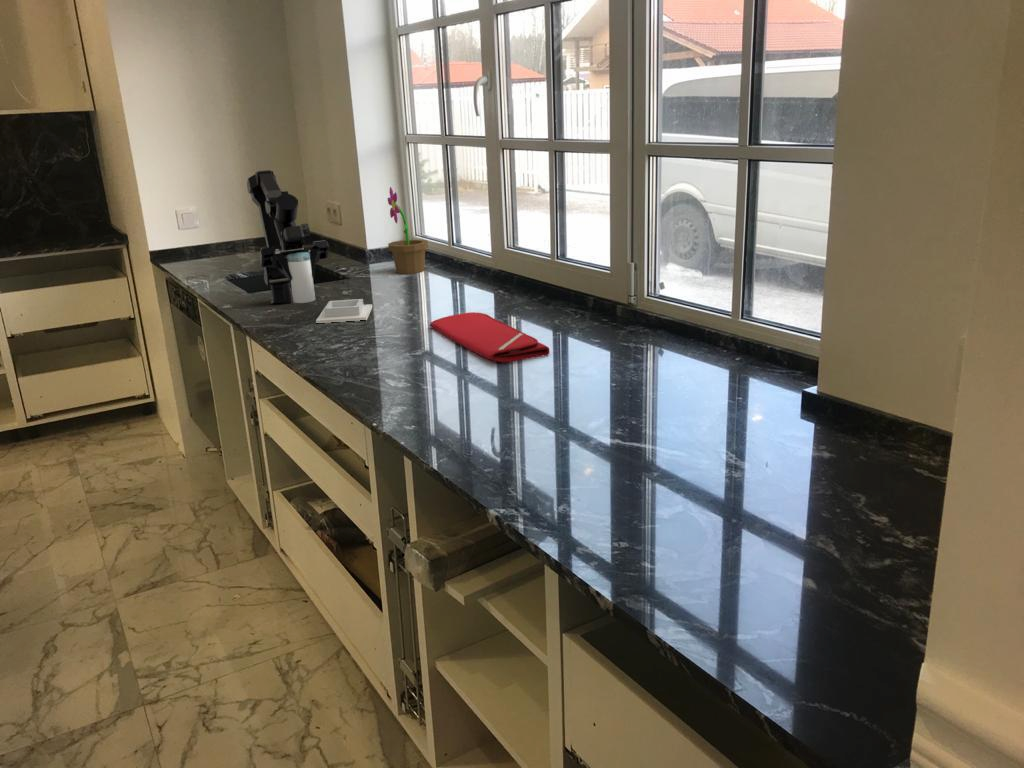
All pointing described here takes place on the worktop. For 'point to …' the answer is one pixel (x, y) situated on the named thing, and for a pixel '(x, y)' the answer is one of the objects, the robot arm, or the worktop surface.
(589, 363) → the worktop surface
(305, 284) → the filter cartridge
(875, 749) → the worktop surface
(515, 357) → the folded red towel
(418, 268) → the flowerpot
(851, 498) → the worktop surface
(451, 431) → the worktop surface
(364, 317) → the white square stand
